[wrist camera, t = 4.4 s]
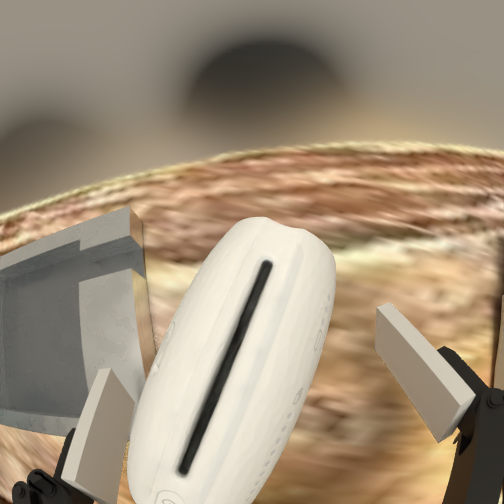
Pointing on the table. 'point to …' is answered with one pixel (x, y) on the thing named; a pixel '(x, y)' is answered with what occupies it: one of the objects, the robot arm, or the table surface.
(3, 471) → the table surface
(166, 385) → the photo printer
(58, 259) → the plate
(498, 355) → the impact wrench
